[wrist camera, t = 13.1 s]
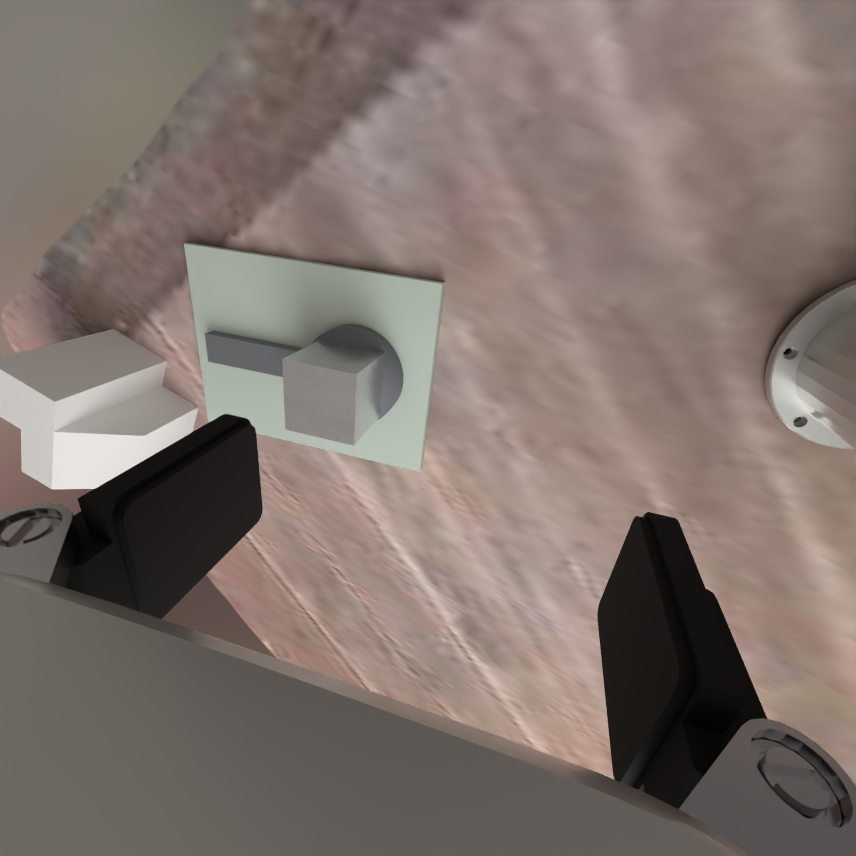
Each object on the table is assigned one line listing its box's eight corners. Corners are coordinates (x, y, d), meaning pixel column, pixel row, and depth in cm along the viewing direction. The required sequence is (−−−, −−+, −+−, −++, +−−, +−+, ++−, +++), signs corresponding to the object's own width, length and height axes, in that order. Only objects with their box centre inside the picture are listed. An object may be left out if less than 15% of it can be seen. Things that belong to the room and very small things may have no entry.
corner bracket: (113, 328, 46) (-14, 360, 36) (204, 383, 46) (102, 430, 36) (105, 405, 52) (-9, 453, 41) (186, 454, 52) (93, 514, 41)
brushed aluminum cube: (384, 352, 37) (356, 374, 32) (380, 415, 40) (354, 445, 34) (319, 339, 38) (282, 359, 33) (319, 402, 41) (285, 429, 35)
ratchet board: (445, 282, 36) (425, 293, 30) (422, 467, 44) (404, 501, 38) (192, 242, 40) (136, 246, 35) (214, 418, 48) (172, 442, 43)
